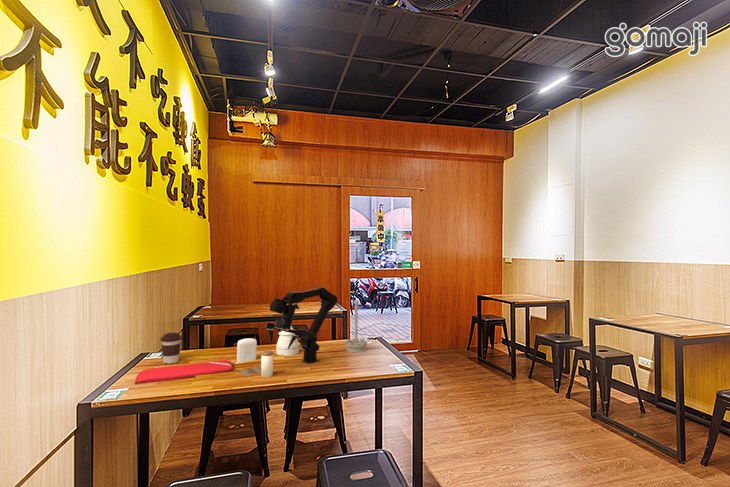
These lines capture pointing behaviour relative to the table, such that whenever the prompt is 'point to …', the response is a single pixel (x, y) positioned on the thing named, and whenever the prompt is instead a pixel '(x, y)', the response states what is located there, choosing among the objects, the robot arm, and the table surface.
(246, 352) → the photo printer
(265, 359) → the tumbler
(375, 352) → the table surface
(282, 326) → the robot arm
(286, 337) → the honey pot
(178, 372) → the dish drying mat
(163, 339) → the coffee cup
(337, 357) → the table surface
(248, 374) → the board
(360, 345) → the flag stand
